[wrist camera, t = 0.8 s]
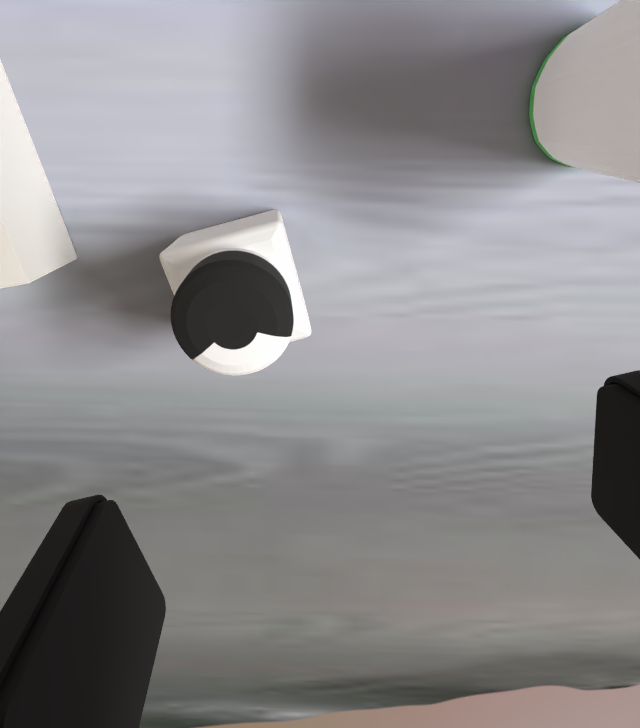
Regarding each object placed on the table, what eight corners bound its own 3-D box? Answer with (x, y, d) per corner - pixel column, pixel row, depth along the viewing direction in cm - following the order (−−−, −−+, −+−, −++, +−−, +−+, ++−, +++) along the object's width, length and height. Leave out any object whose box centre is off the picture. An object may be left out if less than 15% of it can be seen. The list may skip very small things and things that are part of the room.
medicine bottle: (179, 234, 32) (130, 274, 21) (279, 207, 31) (283, 232, 21) (214, 328, 35) (187, 406, 24) (305, 304, 34) (320, 370, 24)
